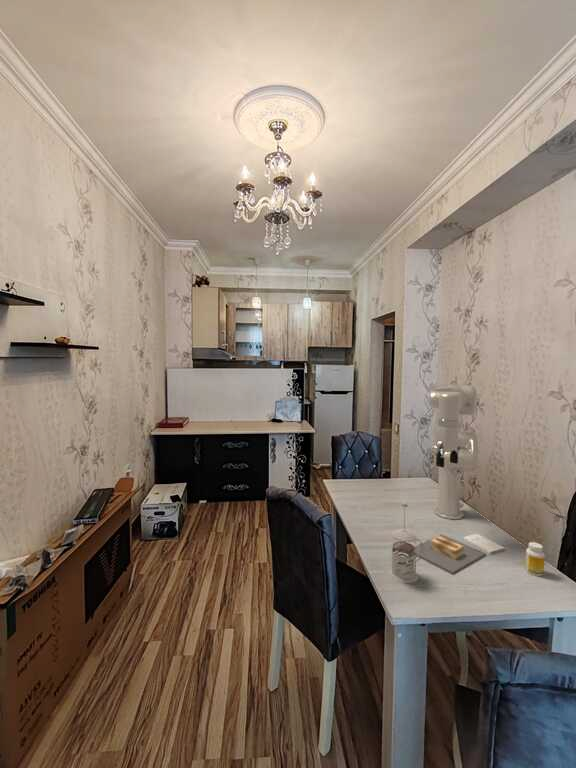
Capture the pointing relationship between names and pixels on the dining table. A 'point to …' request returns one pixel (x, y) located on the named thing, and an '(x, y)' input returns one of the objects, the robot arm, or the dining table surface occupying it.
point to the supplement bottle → (535, 559)
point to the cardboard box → (446, 547)
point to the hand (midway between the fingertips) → (447, 464)
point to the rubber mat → (445, 561)
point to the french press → (401, 568)
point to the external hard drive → (484, 543)
